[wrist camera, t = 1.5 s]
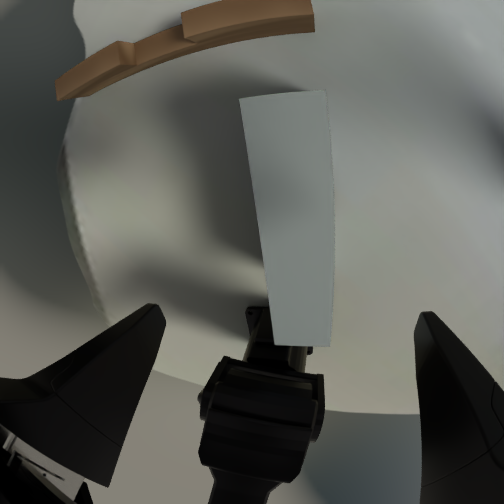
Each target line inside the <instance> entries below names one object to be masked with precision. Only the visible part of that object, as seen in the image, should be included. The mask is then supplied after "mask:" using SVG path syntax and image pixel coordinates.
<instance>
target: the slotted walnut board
mask: <svg viewBox="0 0 504 504" xmlns="http://www.w3.org/2000/svg"><path fill="white" fill-rule="evenodd" d="M181 17H182V24H181V25H178V26H175V27H172V28H170V29H167V30H164V31H162V32H159V33H157V34H154V35H152V36H150V37H147V38H145V39H143V40H141V41H138V42H136V43H128V42H122V41H116V42H114V43H112V44H110V45H109V46H107V47H105V48H103V49H102V50H100V51H98V52H97V53H95V54H93V55H92V56H90V57H88V58H87V59H85V60H84V61H82V62H81V63H79V64H78V65H76V66H75V67H73V68H72V69H70V70H69V71H68V72H66V73H65V74H63V75H62V76H61V77H59V78H58V79H57V80H55V88H56V96H57V101H60V100H65V99H72V98H79V97H86V96H90V95H92V94H93V93H95V92H97V91H99V90H101V89H103V88H105V87H107V86H109V85H111V84H113V83H115V82H117V81H119V80H122V79H124V78H126V77H128V76H131V75H133V74H135V73H138V72H140V71H142V70H145V69H147V68H150V67H153V66H155V65H158V64H161V63H163V62H166V61H169V60H172V59H175V58H178V57H181V56H184V55H187V54H191V53H194V52H198V51H201V50H205V49H209V48H213V47H217V46H221V45H225V44H230V43H234V42H239V41H244V40H250V39H256V38H262V37H269V36H276V35H285V34H295V33H309V32H315V25H314V13H313V8H312V4H311V0H222V1H218V2H214V3H210V4H207V5H203V6H200V7H197V8H194V9H191V10H188V11H185V12H182V13H181Z"/></svg>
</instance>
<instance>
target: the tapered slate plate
mask: <svg viewBox="0 0 504 504" xmlns="http://www.w3.org/2000/svg"><path fill="white" fill-rule="evenodd" d="M239 102H240V108H241V114H242V121H243V127H244V134H245V140H246V147H247V153H248V160H249V166H250V173H251V180H252V186H253V193H254V200H255V207H256V213H257V220H258V227H259V234H260V241H261V248H262V255H263V262H264V269H265V276H266V284H267V291H268V298H269V305H270V313H271V320H272V328H273V335H274V343H275V345H288V346H321V347H330V342H331V329H332V315H333V297H334V270H335V206H334V179H333V161H332V147H331V135H330V124H329V115H328V106H327V97H326V90H316V91H300V92H287V93H277V94H269V95H261V96H253V97H247V98H240V99H239Z"/></svg>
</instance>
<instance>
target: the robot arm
mask: <svg viewBox="0 0 504 504" xmlns="http://www.w3.org/2000/svg"><path fill="white" fill-rule="evenodd" d="M250 311H251V312H250ZM245 314H246V318H247V323H248V328H249V332H250V339H249V342H248V345H247V348H246V351H245V354H244V357H243V360H242V361H241V360H236V359H232V358H230V357H228V356H223V358H222V360H221V362H219V363H218V365H217V366H216V368H215V370H214V372H213V373H212V375H211V377H210V379H209V380H208V382H207V384H206V386H205V387H204V389H203V390H202V391H201V392H200V393H199V395H198V401H199V403H200V419H201V420H204V421H205V424H204V428H203V433H202V438H201V442H200V447H199V450H198V454H199V457H200V461H201V464H202V465H204V466H208V467H209V469H210V471H211V474H212V476H213V478H214V484H213V488H212V492H211V495H210V499H209V502H208V504H266V503H267V500H268V497H269V494H270V492H271V491H272V490H274V489H275V488H276V487H277V486H279V485H280V484H281V483H283V482H284V483H290V482H292V481H293V479H295V478H296V477H297V476H298V474H299V473H300V471H301V467H302V465H303V462H304V459H305V456H306V452H307V449H308V446H309V443H310V442H313V443H314V442H316V440H317V438H318V436H319V434H320V431H321V428H322V424H323V419H324V413H325V395H324V375H323V374H310V373H305V365H306V357H307V355H310V354H312V353H313V346H288V345H275V343H274V335H273V328H272V320H271V313H270V307H247V309H246V311H245ZM165 327H166V319H165V317H164V315H163V313H162V311H161V309H160V307H159V305H157V304H152V303H148V304H146V305H144V306H143V307H141V308H140V309H138V310H136V311H135V312H133V313H132V314H130V315H129V316H127V317H125V318H124V319H122V320H121V321H119V322H118V323H116V324H115V325H113V326H111V327H110V328H108V329H107V330H105V331H104V332H102V333H101V334H99V335H97V336H96V337H94V338H93V339H91V340H90V341H88V342H87V343H85V344H83V345H82V346H81V347H79V348H77V349H76V350H74V351H73V352H71V353H70V354H68V355H66V356H65V357H63V358H62V359H60V360H58V361H57V362H55V363H53V364H51V365H50V366H48V367H46V368H44V369H42V370H41V371H39V372H37V373H35V374H33V375H31V376H29V377H27V378H24V379H9V378H1V377H0V504H93V501H92V499H91V496H90V492H89V490H88V486H87V483H86V482H84V479H85V478H87V479H89V480H91V481H93V482H96V483H98V484H100V485H103V486H105V487H107V488H108V487H109V485H110V482H111V479H112V476H113V473H114V470H115V467H116V464H117V461H118V458H119V455H120V452H121V449H122V446H123V443H124V440H125V437H126V434H127V432H128V429H129V427H130V423H131V421H132V418H133V416H134V413H135V410H136V408H137V405H138V403H139V400H140V397H141V394H142V392H143V390H144V387H145V385H146V382H147V380H148V377H149V375H150V372H151V370H152V367H153V365H154V362H155V360H156V357H157V353H158V350H159V347H160V343H161V340H162V337H163V334H164V330H165ZM414 345H415V363H416V381H417V389H418V398H419V408H420V419H421V420H420V421H421V440H422V477H421V495H420V504H504V391H503V390H502V388H501V387H500V386H499V385H498V383H497V382H496V381H495V380H494V379H493V377H492V376H491V375H490V374H489V372H488V371H487V370H486V369H485V368H484V366H483V365H482V364H481V363H480V362H479V361H478V359H477V358H476V357H475V356H474V355H473V354H472V353H471V351H470V350H469V349H468V348H467V347H466V346H465V345H464V344H463V342H462V341H461V340H460V339H459V338H458V337H457V336H456V335H455V334H454V333H453V332H452V331H451V330H450V329H449V327H448V326H447V325H446V324H445V323H444V322H443V321H442V320H441V319H440V318H439V317H438V316H437V315H436V314H435V313H434V312H432V311H426V312H421V313H420V315H419V318H418V321H417V324H416V327H415V330H414Z"/></svg>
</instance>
